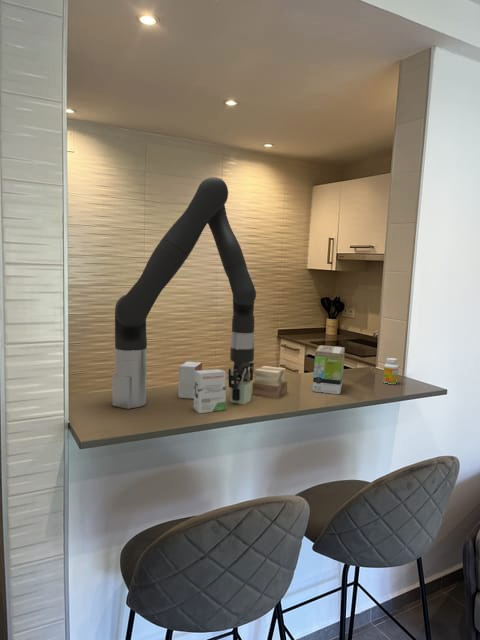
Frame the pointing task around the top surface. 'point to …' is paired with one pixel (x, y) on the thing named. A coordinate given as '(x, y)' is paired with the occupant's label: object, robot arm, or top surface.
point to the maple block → (269, 375)
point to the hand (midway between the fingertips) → (240, 397)
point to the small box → (187, 378)
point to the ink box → (209, 390)
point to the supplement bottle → (391, 371)
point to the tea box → (328, 369)
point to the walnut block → (269, 390)
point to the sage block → (243, 393)
